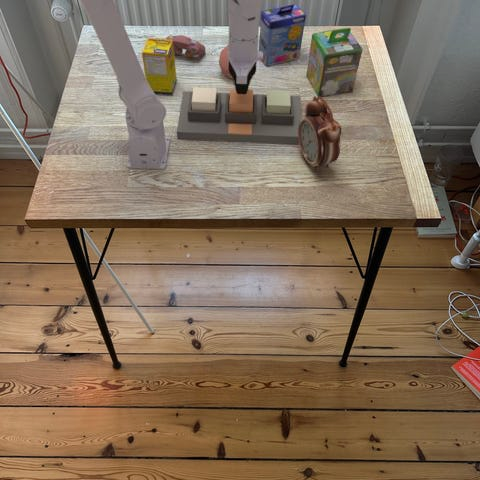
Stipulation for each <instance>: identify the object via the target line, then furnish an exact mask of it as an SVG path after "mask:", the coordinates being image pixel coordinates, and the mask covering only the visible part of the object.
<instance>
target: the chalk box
mask: <svg viewBox="0 0 480 480" xmlns="http://www.w3.org/2000/svg"><path fill="white" fill-rule="evenodd" d="M351 31H352V28H351V27H345V28H344V27H343V28H337V29H332V30H323V31H319V32H314V33H312V34H311V40H310V47H309V55H308V62H307V70H306V76H307V79H308V80H309V83H310V84H311V86H312V87H313V89H314V91H315V93H316V94H317V97H324V96H331V95H337V94H339V95H340V94H343V93H352V92H354V85H355V82H356V78H357V74H358V70H359V66H360V62H361V57H362V54H363V50H364V48H363V47H362V46H361V45H360V43H359V42H358V41H357V38H356V37H355V36H354V35H353V34H352V32H351Z"/></svg>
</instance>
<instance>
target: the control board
mask: <svg viewBox="0 0 480 480" xmlns="http://www.w3.org/2000/svg"><path fill="white" fill-rule="evenodd" d="M192 96H193V91H188V90H187V91H186V90H183V91H182V97H181V103H180V104H181V105H180V110H179V116H178V122H177V127H176V128H177V129H176V138H177V140H189V141H190V140H193V141H195V140H196V141H216V142H219V141H220V142H222V141H223V142H238V143H240V142H241V143H243V142H245V143H266V144H267V143H268V144H289V145H290V144H294V145H295V144H296V145H300V144H299V139H298V127H299V122H300V119H301V117H302V116H303V114H302V101H301V100H302V99H301V96H300V95H290V104H291V107H290V114H269V113H266V97H267V94H259V93H253V111H252V113H244V112H229V101H230V92H217V102H216V111H196V110H192Z"/></svg>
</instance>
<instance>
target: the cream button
mask: <svg viewBox="0 0 480 480" xmlns="http://www.w3.org/2000/svg"><path fill="white" fill-rule="evenodd" d="M217 90H218V89H217V88H216V87H195V86H194V87H193V89H192V92H193V96H192V110H196V111H216V102H217V93H218V91H217Z"/></svg>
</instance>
